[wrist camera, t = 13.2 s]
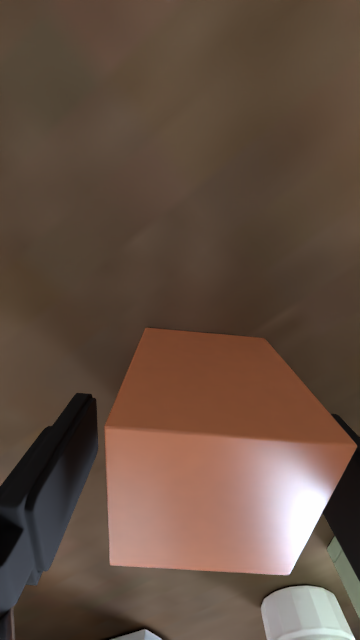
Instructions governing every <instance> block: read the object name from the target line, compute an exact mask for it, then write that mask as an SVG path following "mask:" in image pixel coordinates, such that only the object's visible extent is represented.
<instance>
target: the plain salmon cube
mask: <svg viewBox="0 0 360 640" xmlns="http://www.w3.org/2000/svg"><path fill="white" fill-rule="evenodd" d="M104 433H105V457H106V482H107V506H108V531H109V556H110V565H114V566H132V567H150V568H167V569H185V570H203V571H221V572H238V573H256V574H274V575H289V574H290V572H291V571H292V569H293V567H294V565H295V563H296V561H297V559H298V557H299V556H300V554H301V552H302V550H303V548H304V546H305V544H306V542H307V540H308V539H309V537H310V535H311V533H312V531H313V529H314V527H315V525H316V523H317V522H318V520H319V518H320V516H321V514H322V512H323V510H324V508H325V506H326V505H327V503H328V501H329V499H330V497H331V495H332V493H333V491H334V489H335V488H336V486H337V484H338V482H339V480H340V478H341V476H342V474H343V472H344V471H345V469H346V467H347V465H348V463H349V461H350V459H351V457H352V455H353V454H354V452H355V450H356V448H357V445H356V443H355V442H354V441H353V440H352V439H351V437H350V436H349V435H348V434H347V433H346V432H345V430H344V429H343V428H342V427H341V426H340V425H339V424H338V422H337V421H336V420H335V419H334V418H333V417H332V415H331V414H330V413H329V412H328V411H327V410H326V409H325V407H324V406H323V405H322V404H321V403H320V402H319V400H318V399H317V398H316V397H315V396H314V395H313V394H312V392H311V391H310V390H309V389H308V388H307V387H306V385H305V384H304V383H303V382H302V381H301V380H300V379H299V377H298V376H297V375H296V374H295V373H294V372H293V370H292V369H291V368H290V367H289V366H288V365H287V364H286V362H285V361H284V360H283V359H282V358H281V357H280V355H279V354H278V353H277V352H276V351H275V350H274V349H273V347H272V346H271V345H270V344H269V343H268V342H267V340H266V339H265V338H259V337H247V336H236V335H225V334H213V333H202V332H191V331H179V330H168V329H157V328H145V330H144V332H143V335H142V337H141V339H140V342H139V344H138V347H137V349H136V351H135V354H134V356H133V359H132V361H131V363H130V366H129V368H128V371H127V373H126V375H125V378H124V380H123V383H122V385H121V388H120V390H119V392H118V395H117V397H116V400H115V402H114V404H113V407H112V409H111V412H110V414H109V416H108V419H107V421H106V424H105V426H104Z"/></svg>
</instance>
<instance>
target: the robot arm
mask: <svg viewBox="0 0 360 640" xmlns="http://www.w3.org/2000/svg"><path fill="white" fill-rule="evenodd" d="M331 415H332V417H333V418H334V419H335V420H336V421H337V422H338V424H339V425H340V426H341V427H342V428H343V429H344V430H345V432H346V433H347V434H348V435H349V436H350V437H351V439H352V440H353V441H354V442H355V443H356V445H357V448H356V450H355V452H354V454H353V455H352V457H351V459H350V461H349V463H348V465H347V467H346V469H345V471H344V472H343V474H342V476H341V478H340V480H339V482H338V484H337V486H336V488H335V489H334V491H333V493H332V495H331V497H330V499H329V501H328V503H327V505H326V506H325V508H324V510H323V514H324V516H325V518H326V520H327V522H328V524H329V526H330V527H331V529H332V531H333V533H334V535H335V537H336V539H337V541H338V542H339V544H340V546H341V548H342V550H343V552H344V554H345V556H346V557H347V559H348V561H349V563H350V565H351V567H352V569H353V571H354V572H355V574H356V576H357V578H358V580H359V582H360V437H359V436H358V435H357V434H356V433H355V432H354V431H353V430H352V429H351V428H350V427H349V426H348V425H347V424H346V423H345V422H344V420H343V419H342V418H341V417H340V416H338V415H336V414H331ZM97 451H98V430H97V405H96V398H92V394H84V393H76V394H75V395H74V397H73V398H72V400H71V401H70V402H69V404H68V405H67V406H66V408H65V409H64V411H63V412H62V413H61V415H60V416H59V417H58V419H57V420H56V422H55V423H54V424H53V426H48V427H46V428H45V429H44V430H43V431H42V432H41V434H40V435H39V436H38V438H37V439H36V440H35V442H34V443H33V444H32V445H31V447H30V448H29V449H28V451H27V452H26V453H25V455H24V456H23V457H22V459H21V460H20V461H19V463H18V464H17V465H16V467H15V468H14V469H13V470H12V472H11V473H10V474H9V476H8V477H7V478H6V480H5V481H4V482H3V484H2V485H1V486H0V640H15V629H14V613H13V606H14V605H15V604H16V603H17V601H18V599H19V597H20V595H21V593H22V591H23V588H24V586H25V585H37V584H38V581H39V579H40V577H41V574H42V572H43V571H48V569H49V568H50V566H51V564H52V562H53V560H54V557H55V555H56V552H57V550H58V547H59V545H60V543H61V540H62V538H63V535H64V533H65V530H66V528H67V526H68V523H69V521H70V518H71V516H72V513H73V511H74V509H75V506H76V504H77V501H78V499H79V496H80V494H81V492H82V489H83V487H84V484H85V482H86V479H87V477H88V474H89V472H90V470H91V467H92V465H93V462H94V460H95V457H96V455H97Z"/></svg>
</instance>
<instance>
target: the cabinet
mask: <svg viewBox="0 0 360 640" xmlns="http://www.w3.org/2000/svg"><path fill="white" fill-rule="evenodd" d="M327 551H328V553H329V555H330V557H331V559H332V561H333V563H334V566H335V568H336V570H337V572H338V574H339V576H340V578H341V581H342V583H343V585H344V587H345V589H346V591H347V593H348V595H349V597H350V600H351V602H352V604H353V606H354V608H355V610H356V612H357V614H358V616H359V619H360V582H359V580H358V578H357V576H356V574H355V572H354V571H353V569H352V567H351V565H350V563H349V561H348V559H347V557H346V556H345V554H344V552H343V550H342V548H341V546H340V544H339V542H338V541H337V539H336V537H335V536H334V538H333V540H332V541H331V543H330V545H329V546H328V548H327Z"/></svg>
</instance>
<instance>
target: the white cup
mask: <svg viewBox="0 0 360 640" xmlns="http://www.w3.org/2000/svg"><path fill="white" fill-rule="evenodd" d="M261 612H262V617H263V622H264V628H265V633H266V638H267V640H356V639H355V638H354V636H353V634H352V632H351V630H350V627H349V625H348V623H347V621H346V619H345V617H344V614H343V612H342V610H341V608H340V606H339V604H338V601H337V599H336V597H335V595H334V594H333V593H332V592H330V591H328V590H326V589H324V588H322V587H315V586H308V585H305V586H293V587H287V588H284V589H281V590H278V591H275V592H273V593H272V594H270V595H269V596H267V597H266V598H265V599H264V600H263V603H262V606H261Z"/></svg>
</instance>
